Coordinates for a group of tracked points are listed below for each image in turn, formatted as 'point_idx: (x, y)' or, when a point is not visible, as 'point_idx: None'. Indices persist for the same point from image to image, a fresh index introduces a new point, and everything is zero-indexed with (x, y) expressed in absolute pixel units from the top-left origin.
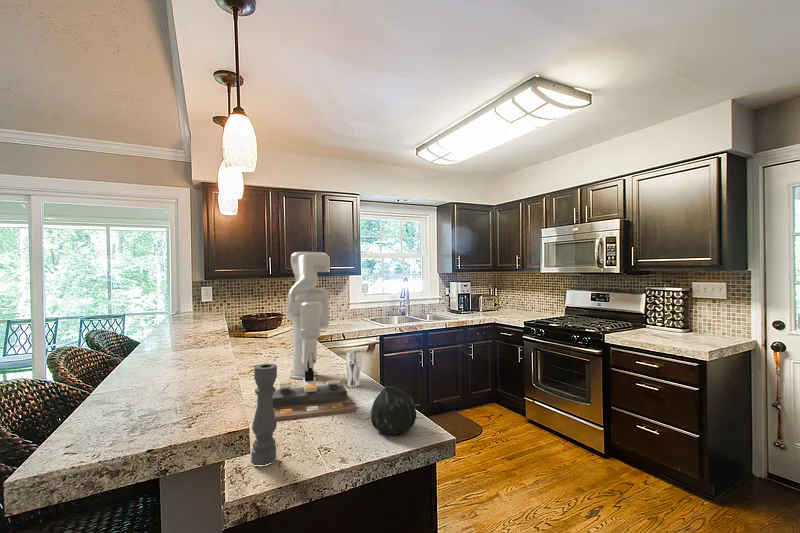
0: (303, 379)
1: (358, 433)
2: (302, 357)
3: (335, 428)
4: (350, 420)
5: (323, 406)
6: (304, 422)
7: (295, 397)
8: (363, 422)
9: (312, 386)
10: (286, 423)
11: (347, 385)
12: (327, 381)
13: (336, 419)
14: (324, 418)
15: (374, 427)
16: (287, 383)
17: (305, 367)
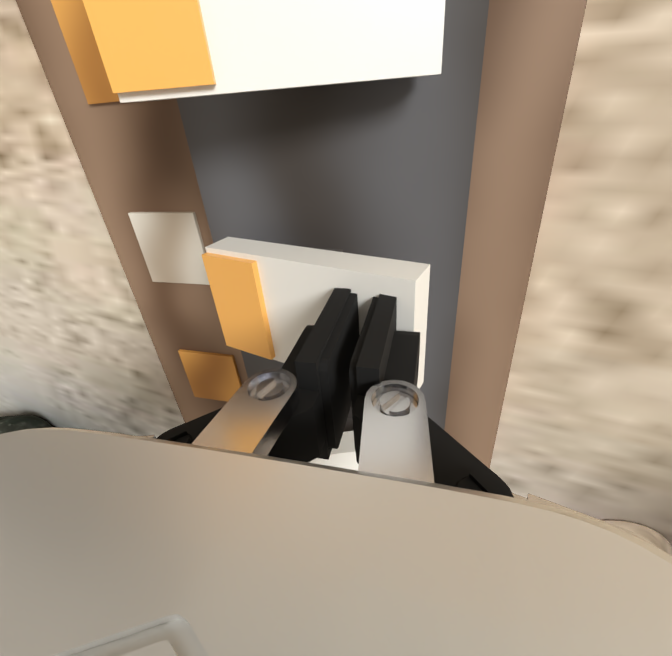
0: (379, 277)
1: (12, 363)
2: (42, 611)
3: (25, 307)
4: (107, 374)
5: (210, 314)
6: (47, 180)
7: (192, 137)
8: (97, 404)
9: (238, 324)
10: (7, 60)
11: (617, 524)
12: (333, 453)
13: (109, 331)
14: (112, 287)
15: (22, 415)
16: (90, 17)
17: (410, 412)
